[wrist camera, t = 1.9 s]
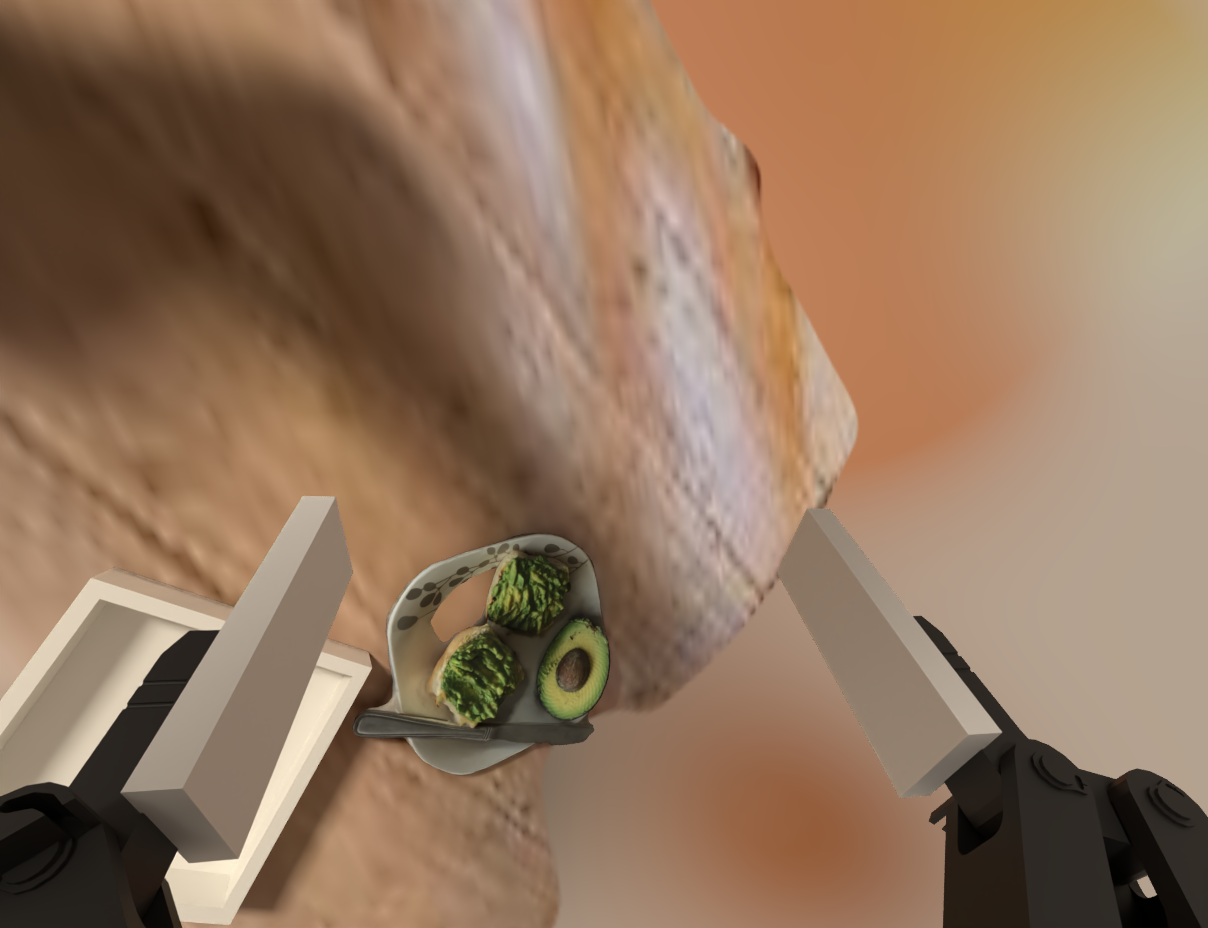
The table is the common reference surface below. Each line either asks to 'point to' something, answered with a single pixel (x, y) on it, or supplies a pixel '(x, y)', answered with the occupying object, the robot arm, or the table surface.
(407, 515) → the table surface
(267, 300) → the table surface
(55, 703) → the cream square tray
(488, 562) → the salad plate
